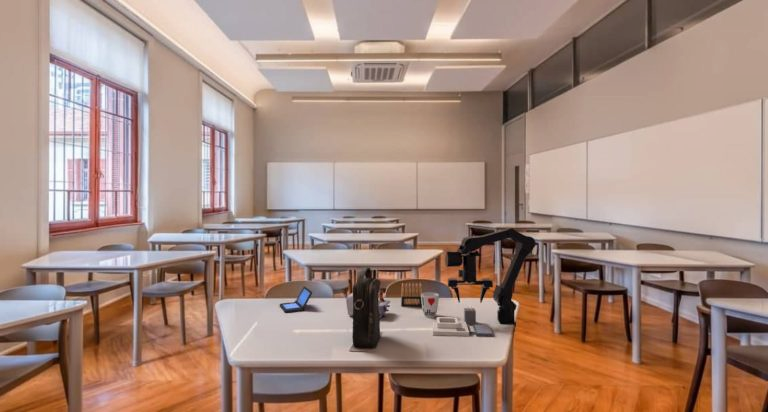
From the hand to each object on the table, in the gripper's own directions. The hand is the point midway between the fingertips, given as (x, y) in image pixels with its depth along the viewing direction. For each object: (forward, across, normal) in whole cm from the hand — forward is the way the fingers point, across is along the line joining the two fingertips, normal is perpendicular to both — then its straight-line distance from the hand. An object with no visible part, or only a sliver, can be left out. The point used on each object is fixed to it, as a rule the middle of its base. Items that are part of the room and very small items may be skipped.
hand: (469, 302), depth 176 cm
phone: (+9, -4, +11) cm, 15 cm away
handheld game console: (+9, +84, -19) cm, 87 cm away
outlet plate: (+9, +9, +10) cm, 16 cm away
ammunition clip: (+9, +26, -27) cm, 39 cm away
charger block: (+9, 0, 0) cm, 9 cm away
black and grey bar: (+9, +1, +14) cm, 17 cm away
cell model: (+9, +46, -9) cm, 47 cm away
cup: (+9, +17, -10) cm, 22 cm away
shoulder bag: (+9, +41, +26) cm, 50 cm away
